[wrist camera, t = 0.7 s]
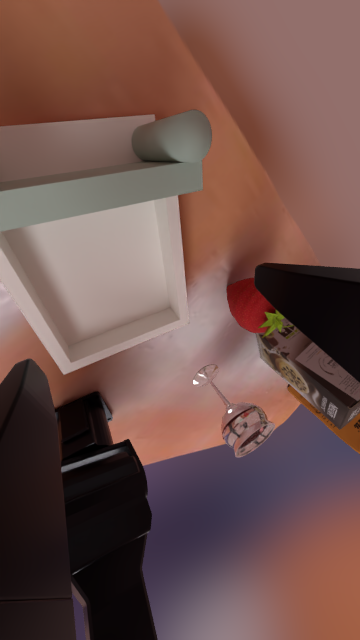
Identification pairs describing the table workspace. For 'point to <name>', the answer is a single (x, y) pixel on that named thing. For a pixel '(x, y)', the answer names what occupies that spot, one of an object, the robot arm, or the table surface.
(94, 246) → the cradle stand
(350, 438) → the coffee package
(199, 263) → the table surface
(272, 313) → the strawberry
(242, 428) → the wineglass
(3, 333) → the table surface
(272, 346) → the coffee box
